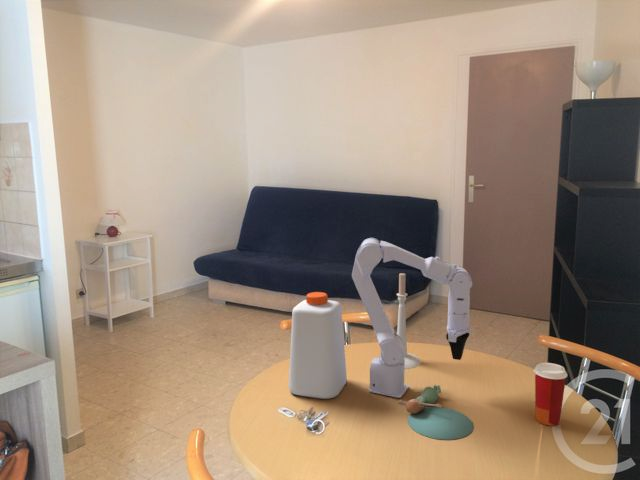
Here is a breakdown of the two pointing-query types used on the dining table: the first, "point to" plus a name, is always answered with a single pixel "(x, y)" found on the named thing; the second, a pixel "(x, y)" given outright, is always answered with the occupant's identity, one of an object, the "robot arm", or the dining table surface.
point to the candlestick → (404, 325)
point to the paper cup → (549, 392)
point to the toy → (423, 400)
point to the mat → (440, 423)
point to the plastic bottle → (317, 348)
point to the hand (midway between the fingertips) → (457, 358)
